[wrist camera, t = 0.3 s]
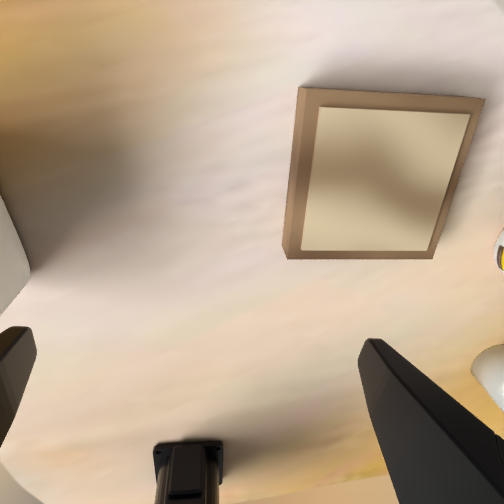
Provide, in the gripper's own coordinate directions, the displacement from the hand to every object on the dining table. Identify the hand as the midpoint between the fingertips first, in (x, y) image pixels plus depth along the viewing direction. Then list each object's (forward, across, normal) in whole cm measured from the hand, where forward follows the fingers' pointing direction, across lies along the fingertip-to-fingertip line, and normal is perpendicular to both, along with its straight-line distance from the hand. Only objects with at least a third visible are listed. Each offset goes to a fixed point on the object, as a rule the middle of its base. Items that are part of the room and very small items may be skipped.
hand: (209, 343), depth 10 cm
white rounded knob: (+13, -27, +15) cm, 34 cm away
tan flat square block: (+14, -10, -1) cm, 17 cm away
